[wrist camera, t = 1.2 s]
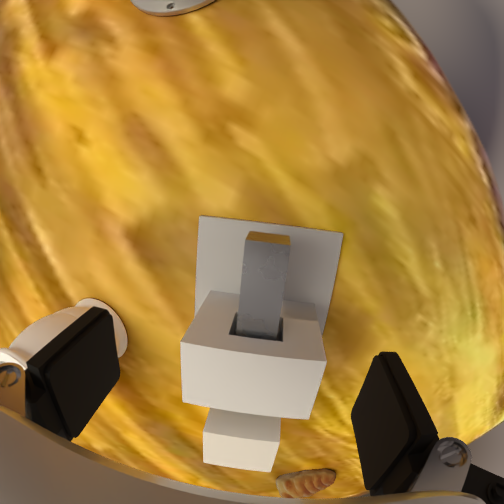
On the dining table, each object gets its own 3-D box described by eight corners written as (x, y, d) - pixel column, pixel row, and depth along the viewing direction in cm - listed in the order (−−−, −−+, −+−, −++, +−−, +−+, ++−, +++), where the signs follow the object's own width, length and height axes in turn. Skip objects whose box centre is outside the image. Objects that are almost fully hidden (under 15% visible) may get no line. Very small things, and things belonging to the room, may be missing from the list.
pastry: (327, 460, 35) (329, 479, 31) (340, 476, 36) (342, 493, 33) (272, 475, 37) (271, 493, 33) (290, 489, 38) (289, 506, 35)
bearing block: (201, 215, 27) (158, 239, 17) (341, 232, 26) (374, 266, 16) (195, 384, 32) (171, 445, 23) (303, 398, 31) (307, 464, 22)
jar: (139, 373, 33) (83, 458, 19) (75, 351, 34) (11, 415, 19) (134, 299, 30) (51, 379, 16) (64, 281, 31) (-22, 335, 16)
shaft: (249, 230, 22) (245, 239, 19) (289, 235, 22) (290, 245, 19) (231, 417, 28) (226, 437, 25) (259, 421, 27) (256, 442, 25)
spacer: (212, 399, 23) (203, 431, 20) (280, 408, 23) (279, 442, 19) (211, 432, 25) (203, 462, 21) (272, 440, 24) (270, 472, 21)
